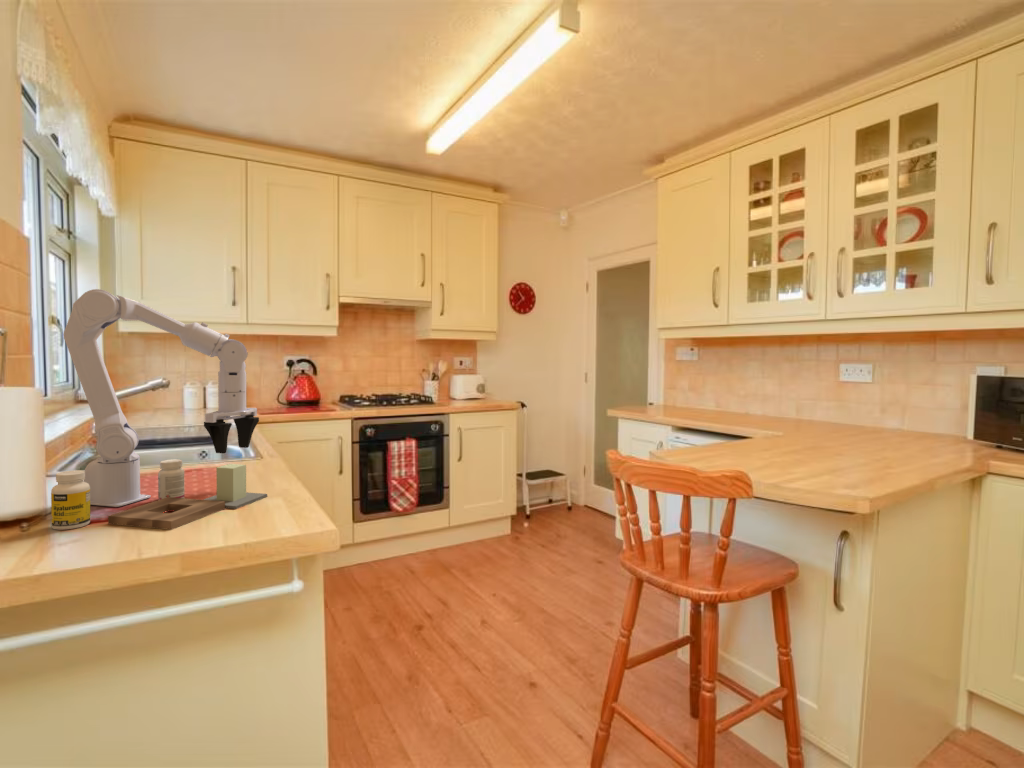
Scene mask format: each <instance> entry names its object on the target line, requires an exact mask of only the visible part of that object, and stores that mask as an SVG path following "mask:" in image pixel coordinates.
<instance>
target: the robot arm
mask: <svg viewBox="0 0 1024 768" xmlns="http://www.w3.org/2000/svg"><path fill="white" fill-rule="evenodd" d="M120 319H121V320H123V321H128V322H131V321H140V322H143V323H144V324H147V325H150V326H152V327H155V328H158V329H160V330H162V331H165V332H168V333H169V334H172V335H175V336H177V337H179V339H180V342H181V344H182V346H185V347H187V348H189V349H191V350H194V351H197V352H198V353H201V354H203V355H206V356H208V357H210V358H214V357H217V358H218V360H219V371H218V373H217V374H218V375H217V376H218V378H217V379H218V380H217V384H218V385H217V386H218V390H217V391H218V392H217V393H218V394H217V395H218V396H217V397H218V398H217V399H218V401H217V403H218V410H217V411H213V412H207V413H205V415H204V416H205V417H204V418H205V421H204V422H203V427H204V429H205V430H206V431H207V433H208V434H209V437H210V438H211V441H212V444H213V447H214V448H213V449H214V452H215V453H216V454H226V453H227V449H228V439H229V434H230V429H231V427H232V423H231V422H226V421H229V420H232V421H233V422H234V424H235V425H234V426H235V429H236V432H237V433H236V434H237V441H238V442H237V444H238V447H239V448H242V449H243V448H244V449H245V448H250V444H251V439H252V436H253V433H254V431H255V429H256V426H257V425H258V423H260V422H259V421H260V418H259V416H258V408H257V407H247V371H246V368H247V365H246V362H245V361H246V360H247V358H248V355H249V354H248V353H249V352H248V351H247V347H246V346H245V344H244V343H242V341H239V340H236V339H231V338H229V337H230V334H229V333H228V334H227V333H224V334H223V333H221V332H218V331H216V330H214V329H212V328H210V327H208V323H205V322H201V323H199V322H197V321H194V322H191V323H186V324H185V323H184V322H183V321H180V320H178V319H175V318H174V317H171V316H169V315H168V314H165V313H163V312H160V311H159V310H156V309H154V308H153V307H151V306H149V305H146V304H144V303H142V302H140V301H137V300H134V299H131V298H128V297H125V296H122V295H119V294H116V295H114V294H112V293H111V292H109V291H107V290H105V289H102V288H101V289H100V288H95V289H91V290H90V289H89V290H87V291H86V292H84V293H83V294H81V296H79V297H78V299H76V300H75V301H74V302H73V304H72V308H71V313H70V315H69V318H68V321H67V322H66V326H65V329H64V330H63V339H64V342H65V345H66V347H67V350H68V352H69V355H70V357H71V360H72V363H73V366H74V369H75V370H76V374H77V376H78V379H79V382H80V384H81V387H82V390H83V392H84V395H85V397H86V400H87V403H88V406H89V408H90V411H91V414H92V416H93V419H94V428H95V433H96V435H97V441H96V445H95V448H96V452H97V454H98V455H99V456H98V457H97V458H96V459H94V460H92V461H90V462H89V463H88V464H87V465H86V467H85V468H84V471H85V479H84V480H83V481H84V482H86V483H88V484H89V485H90V506H101V507H115V508H117V507H119V508H120V507H122V506H126V505H129V504H134V503H137V502H139V501H142V500H146V499H149V498H151V496H152V495H151V494H141V466H140V465H141V461H140V460H141V459H140V455H139V454H138V453H136V451H135V449H136V448H137V447H138V444H139V441H140V437H139V434H138V432H137V431H136V430H135V429H134V428H133V427H131V425H130V424H129V422H128V419H127V417H126V415H125V414H124V412H123V411H122V408H121V405H120V402H119V400H118V399H119V398H118V397H117V394H116V392H115V389H114V386H113V383H112V380H111V378H110V375H109V372H108V369H107V367H106V364H105V360H104V358H103V356H102V353H101V350H100V346H99V344H98V342H97V339H98V338H99V337H100V336H101V335H102V333H104V331H105V330H106V329H107V327H109V326H111V325H113V324H114V323H116V322H117V321H119V320H120Z"/></svg>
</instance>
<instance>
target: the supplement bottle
mask: <svg viewBox="0 0 1024 768" xmlns="http://www.w3.org/2000/svg"><path fill="white" fill-rule="evenodd" d="M84 479H85V470H78V469H77V470H76V469H73V470H67V471H66V470H65V471H60V472H57V473H56V474H55V481H56V483H57V484H55V485H54V486H53V487H52V488H51V490H50V491H51V492H50V495H51V496H50V499H51V500H50V503H51V507H50V508H51V513H50V514H51V519H50V520H51V528H52V529H53V530H56V531H57V530H59V531H65V530H72V529H79V528H83V527H85V526H88V525H89V524H90V523H91V505H90V485H89V484H88V483H86V482H84Z"/></svg>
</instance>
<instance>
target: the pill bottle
mask: <svg viewBox="0 0 1024 768" xmlns="http://www.w3.org/2000/svg"><path fill="white" fill-rule="evenodd" d="M159 467H160V470H158V472H157V487H158V491H157V493H158V495H157V496H158V499H157V500H161V499H164V498H167V497H173V498H186V497H185V492H186V491H185V469H184V468H183V460H182V459H178V458H177V459H166V460H161V461H160V462H159Z"/></svg>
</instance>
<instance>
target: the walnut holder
mask: <svg viewBox="0 0 1024 768" xmlns="http://www.w3.org/2000/svg"><path fill="white" fill-rule="evenodd" d="M168 510H174V511H172V512H169V511H168ZM223 510H226V508H225V501H213V500H203V499H198V498H197V499H196V498H186V497H184V498H173V497H167V498H164V499H161V500H159V499H157V500H154V501H151V502H149V503H145V504H142V505H138V506H136V507H132V508H128V509H126V510H123V511H120V512H117V513H113V514H109V515H107V525H115V526H116V525H118V526H126V527H127V526H129V527H139V528H151V529H161V530H174V529H177V528H179V527H181V526H184V525H187V524H189V523H192V522H194V521H196V520H199V519H202V518H204V517H207V516H209V515H213V514H215V513H218V512H220V511H223ZM165 511H168V512H165ZM163 512H165V513H163Z"/></svg>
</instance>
